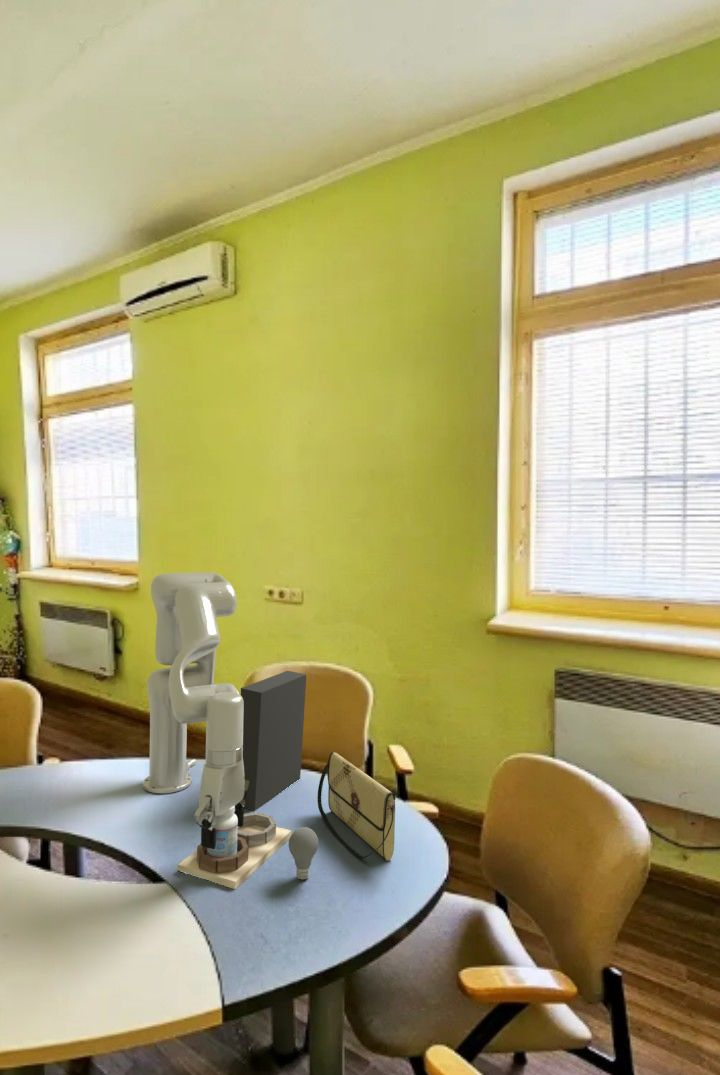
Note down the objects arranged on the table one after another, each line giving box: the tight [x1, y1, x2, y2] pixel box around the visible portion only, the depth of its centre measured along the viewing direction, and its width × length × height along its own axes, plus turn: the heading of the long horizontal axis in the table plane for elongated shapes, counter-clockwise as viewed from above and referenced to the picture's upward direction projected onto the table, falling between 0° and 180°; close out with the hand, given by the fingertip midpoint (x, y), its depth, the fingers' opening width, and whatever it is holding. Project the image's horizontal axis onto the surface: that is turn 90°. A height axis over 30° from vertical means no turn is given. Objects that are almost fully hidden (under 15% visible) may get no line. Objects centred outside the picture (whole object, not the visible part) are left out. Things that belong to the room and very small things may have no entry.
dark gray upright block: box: [240, 670, 307, 812], centre depth 162 cm, size 21×11×30 cm, turn 154°
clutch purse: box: [316, 751, 396, 862], centre depth 139 cm, size 30×7×15 cm, turn 30°
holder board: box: [177, 812, 292, 890], centre depth 131 cm, size 22×14×4 cm, turn 157°
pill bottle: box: [207, 806, 238, 859], centre depth 126 cm, size 6×6×11 cm
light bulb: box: [288, 826, 319, 880], centre depth 123 cm, size 6×6×10 cm
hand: (222, 835), depth 126 cm, fingers open, 9 cm apart
